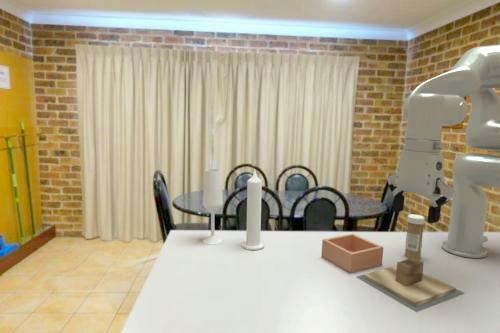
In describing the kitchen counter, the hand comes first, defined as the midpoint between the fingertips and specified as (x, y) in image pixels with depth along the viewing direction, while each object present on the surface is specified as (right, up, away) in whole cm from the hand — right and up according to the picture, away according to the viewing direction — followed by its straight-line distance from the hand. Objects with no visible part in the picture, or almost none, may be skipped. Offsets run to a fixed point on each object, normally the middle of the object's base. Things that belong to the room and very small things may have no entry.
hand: (414, 216), depth 85 cm
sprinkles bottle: (+9, -16, +20) cm, 27 cm away
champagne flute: (-53, -13, +31) cm, 63 cm away
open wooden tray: (-11, -16, +17) cm, 25 cm away
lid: (0, -18, +3) cm, 18 cm away
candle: (-39, -14, +27) cm, 50 cm away
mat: (0, -18, +3) cm, 19 cm away
